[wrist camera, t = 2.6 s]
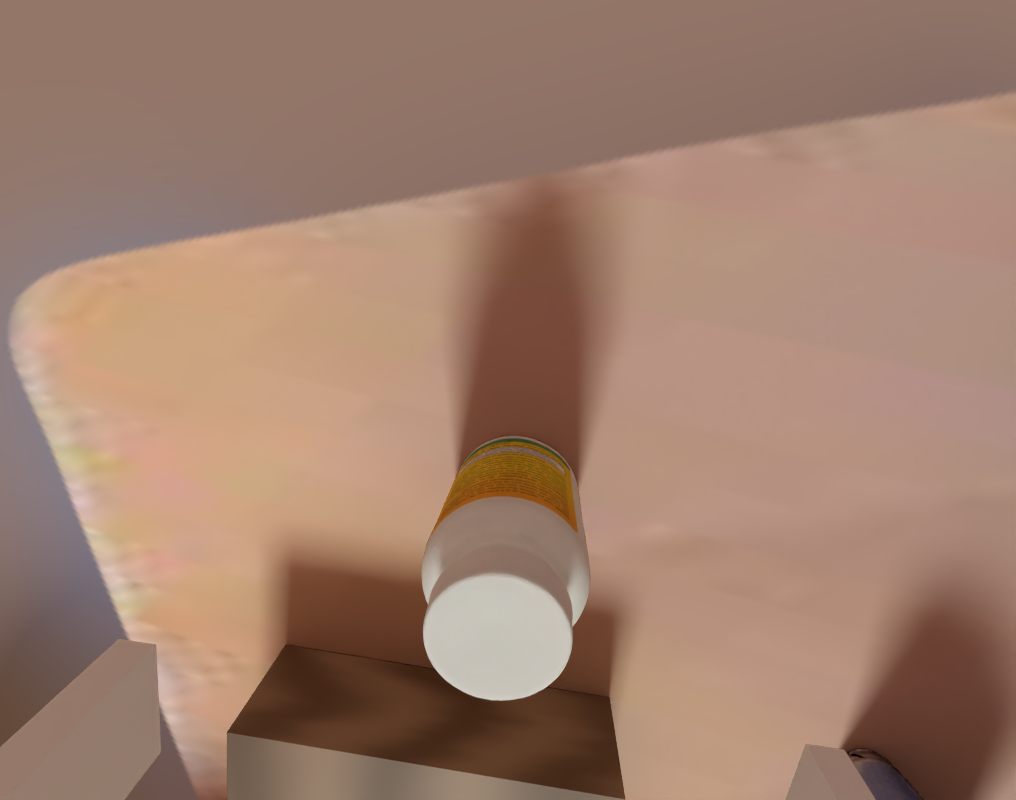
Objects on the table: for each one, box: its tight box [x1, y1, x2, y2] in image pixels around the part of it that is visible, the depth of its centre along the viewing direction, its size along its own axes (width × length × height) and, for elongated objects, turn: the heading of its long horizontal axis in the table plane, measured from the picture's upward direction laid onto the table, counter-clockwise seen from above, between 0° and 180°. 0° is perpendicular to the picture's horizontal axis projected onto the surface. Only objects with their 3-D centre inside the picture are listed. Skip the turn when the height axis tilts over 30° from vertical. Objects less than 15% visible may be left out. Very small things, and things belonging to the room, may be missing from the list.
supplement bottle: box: [422, 436, 590, 701], centre depth 18 cm, size 5×5×10 cm
